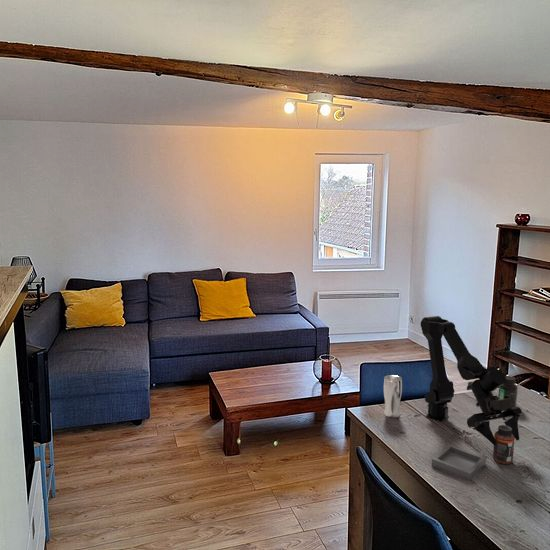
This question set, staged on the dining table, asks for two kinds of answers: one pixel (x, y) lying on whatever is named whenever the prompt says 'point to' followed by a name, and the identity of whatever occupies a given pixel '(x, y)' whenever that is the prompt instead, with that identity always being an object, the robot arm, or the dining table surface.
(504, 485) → the dining table surface
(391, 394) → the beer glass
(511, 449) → the supplement bottle
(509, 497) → the dining table surface
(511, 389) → the supplement bottle
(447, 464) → the tray
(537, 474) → the dining table surface
